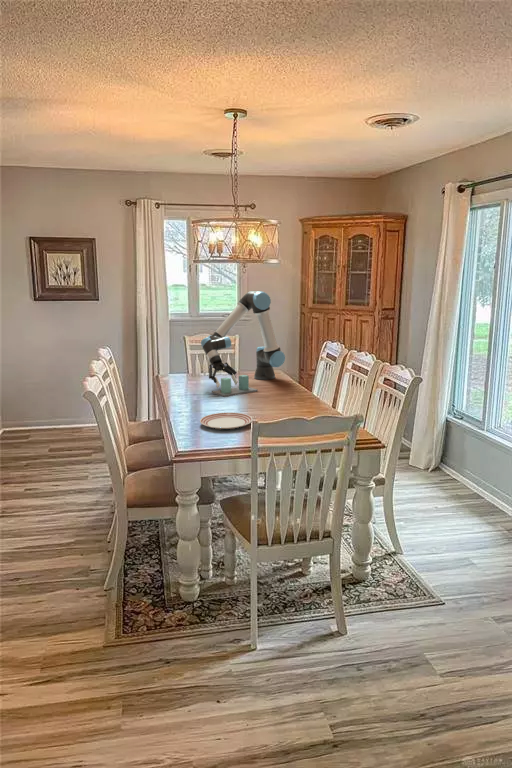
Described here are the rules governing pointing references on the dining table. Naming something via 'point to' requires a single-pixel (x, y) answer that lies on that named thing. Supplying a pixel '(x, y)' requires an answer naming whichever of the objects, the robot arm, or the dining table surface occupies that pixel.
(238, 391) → the grey slotted board
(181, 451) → the dining table surface
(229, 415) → the dinner plate
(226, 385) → the cylinder
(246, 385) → the block
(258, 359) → the robot arm
